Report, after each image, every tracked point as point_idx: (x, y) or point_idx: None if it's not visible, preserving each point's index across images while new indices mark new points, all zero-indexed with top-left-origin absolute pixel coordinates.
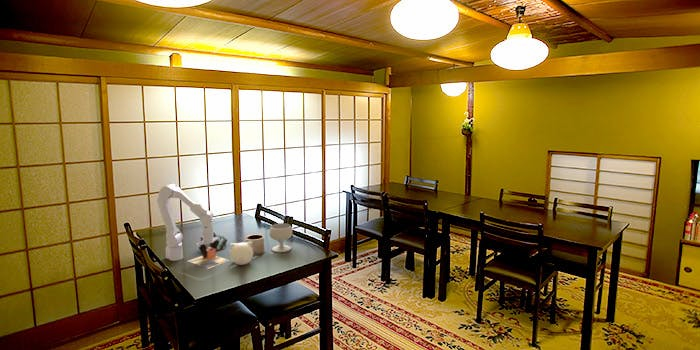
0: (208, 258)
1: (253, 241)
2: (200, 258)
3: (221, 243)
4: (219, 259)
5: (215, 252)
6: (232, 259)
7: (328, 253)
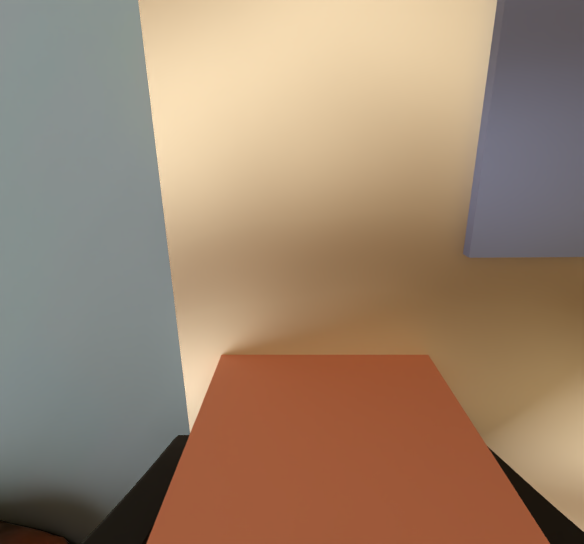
0: (435, 368)
1: None
2: None
3: None
4: (277, 125)
5: (194, 434)
6: None
7: None
